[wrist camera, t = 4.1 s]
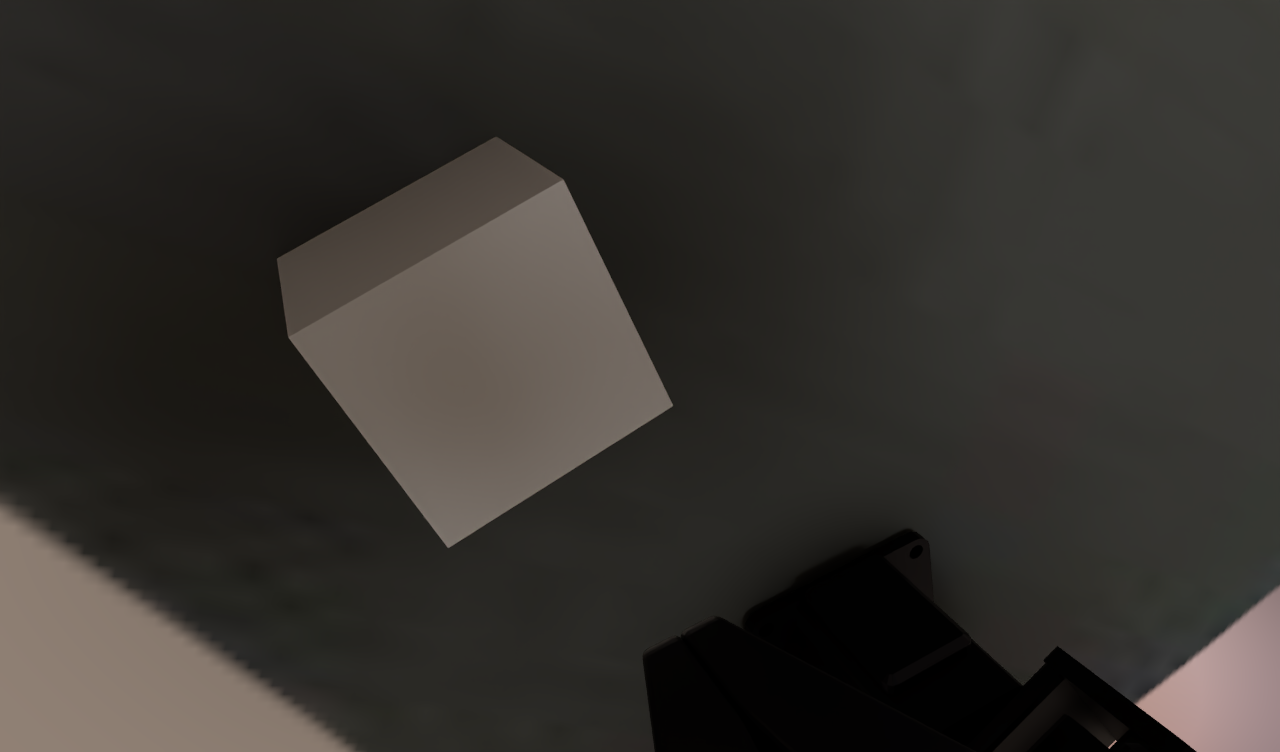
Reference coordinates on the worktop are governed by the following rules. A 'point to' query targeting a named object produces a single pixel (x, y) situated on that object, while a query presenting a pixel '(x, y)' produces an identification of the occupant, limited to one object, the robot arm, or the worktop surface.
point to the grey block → (472, 335)
